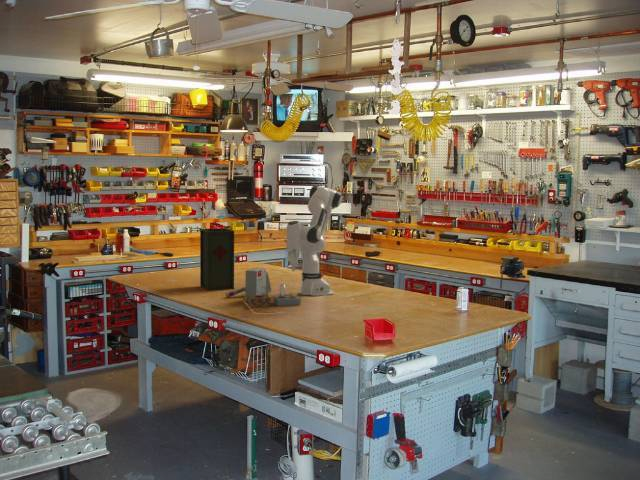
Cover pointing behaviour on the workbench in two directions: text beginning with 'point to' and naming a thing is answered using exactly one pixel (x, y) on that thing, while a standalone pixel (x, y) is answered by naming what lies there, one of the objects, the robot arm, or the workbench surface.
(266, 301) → the rack
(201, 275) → the first aid box
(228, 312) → the workbench surface
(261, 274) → the hard drive box
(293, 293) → the tan block
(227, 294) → the hammer
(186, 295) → the workbench surface
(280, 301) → the socket block
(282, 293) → the frosted round peg
